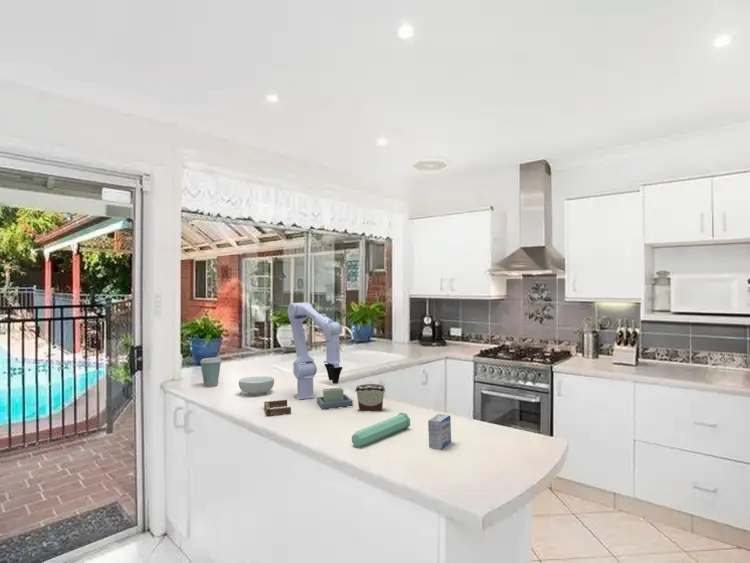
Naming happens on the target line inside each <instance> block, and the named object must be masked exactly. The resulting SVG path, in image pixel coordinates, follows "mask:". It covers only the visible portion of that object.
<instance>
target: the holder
mask: <svg viewBox="0 0 750 563" xmlns="http://www.w3.org/2000/svg"><path fill="white" fill-rule="evenodd" d="M263 403H264V404H263V405H264V407H263V408H264V412H265V411H266V412H265V415H266V417H267V416H268V417H275V416H274V415H277V416H283V414H286V415H291V414H292V407H291V406H288V399H281V400H280V399H279V400H269V401H264V402H263ZM284 406H285V407H284ZM274 407H275V408H274Z"/></svg>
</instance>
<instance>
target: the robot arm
mask: <svg viewBox="0 0 750 563" xmlns="http://www.w3.org/2000/svg"><path fill="white" fill-rule="evenodd" d="M286 311H287V315H288V321H289V322H290V328H291V332H292V337H293V342H294V347H295V354H296V357H297V358H296V359H295V360H294V362H293V363H292V365H293V366H292V367H293V370H292V373H293V375H294V377H295V378H296V379H297V380H296V382H297V393H295V396H296V398H297V400H305V399H306V400H307V399H314V398H315V399H317V397H316V395H315V394H314V378H315V375H317V371H318V368H317V365H316V363H315V359H314V358H313V357H311V356H310V355H309V352H308V346H307V342H306V337H305V336H306V334H305V330H304V327H303V323H304V321H306V320H307V319H308V317H309V318H310V319H312V320H313V321H314V323H315V325H316V326H317V327H318V328H319V329H321V330H322V332H323V335H324V340H325V352H326V355H325V357H326V358H325V360H323V363H324V364H323V365H324V367H325V370H326V372H327V377H328V380H329V381H332V384H334V385H335V384H339V381H340V376H341V372H342V371H343V366H340V363H341V358H340V356H341V355H340V353H341V352H340V335H341V334H342V331H343V327H342V324H341V323H340V322H339V321H334V320H332V318H329V317H328V316H327V314H326V313H319V312H318V311H316V309H315V308H314V307H313V305H312V303H310V302H308V301H305V302H291V303H289V304H288V307H287V309H286Z"/></svg>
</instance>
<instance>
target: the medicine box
mask: <svg viewBox="0 0 750 563" xmlns="http://www.w3.org/2000/svg"><path fill="white" fill-rule="evenodd" d="M427 423H428V424H427V426H428V427H427V428H428V429H427V431H428V446H429V448H432V449H437V450H443V449H444V448H445V447H447V446H448V445H449V444H450V443H452V430H451V429H452V426H451V425H452V424H451V423H452V422H451V415H450V414H449V415H448V414H443V413H438V414H437V415H435V416H433V417H432V418H429V419H428V421H427Z"/></svg>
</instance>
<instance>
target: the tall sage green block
mask: <svg viewBox="0 0 750 563" xmlns="http://www.w3.org/2000/svg"><path fill="white" fill-rule="evenodd" d="M322 397H323V402H324V403H328V402H338V401H344V389H343V388H342V387H334V388H333V387H332V388H323V389H322Z"/></svg>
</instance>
